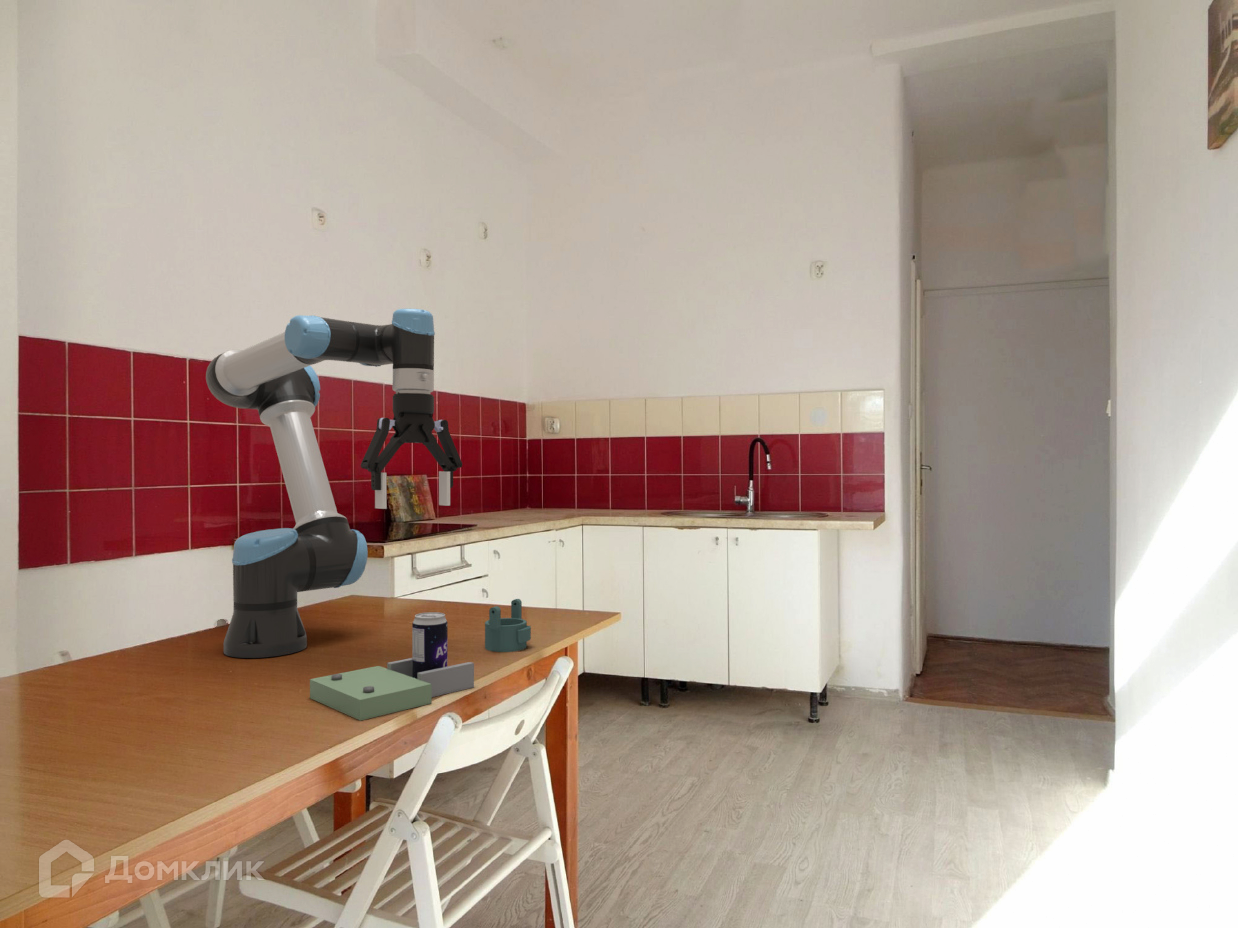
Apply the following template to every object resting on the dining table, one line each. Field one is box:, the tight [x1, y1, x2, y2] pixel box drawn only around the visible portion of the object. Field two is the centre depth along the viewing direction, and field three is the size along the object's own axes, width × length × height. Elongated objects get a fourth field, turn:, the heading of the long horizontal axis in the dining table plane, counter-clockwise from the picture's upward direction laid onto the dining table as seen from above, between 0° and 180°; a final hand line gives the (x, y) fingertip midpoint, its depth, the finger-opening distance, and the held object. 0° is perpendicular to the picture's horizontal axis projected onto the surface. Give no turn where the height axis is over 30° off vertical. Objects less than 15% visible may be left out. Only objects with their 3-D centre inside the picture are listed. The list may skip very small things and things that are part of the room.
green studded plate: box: [309, 657, 475, 722], centre depth 136 cm, size 16×22×4 cm
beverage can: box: [411, 611, 449, 679], centre depth 140 cm, size 6×6×12 cm
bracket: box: [484, 598, 532, 653], centre depth 170 cm, size 9×9×9 cm
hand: (413, 507), depth 158 cm, fingers open, 13 cm apart
